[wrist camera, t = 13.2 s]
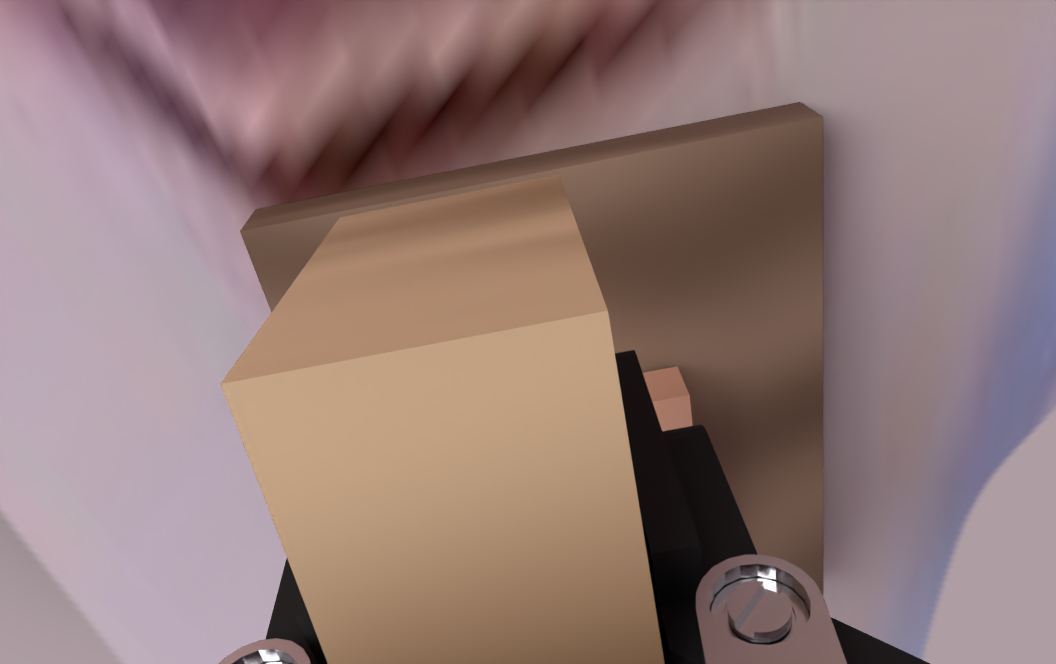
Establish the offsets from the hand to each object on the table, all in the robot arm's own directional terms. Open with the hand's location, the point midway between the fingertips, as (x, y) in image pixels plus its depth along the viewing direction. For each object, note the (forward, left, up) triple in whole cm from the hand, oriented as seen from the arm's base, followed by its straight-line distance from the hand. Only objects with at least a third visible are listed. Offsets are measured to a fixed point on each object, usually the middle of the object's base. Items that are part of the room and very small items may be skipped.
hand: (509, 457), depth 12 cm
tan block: (+3, 0, 0) cm, 3 cm away
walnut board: (+6, +1, -10) cm, 12 cm away
